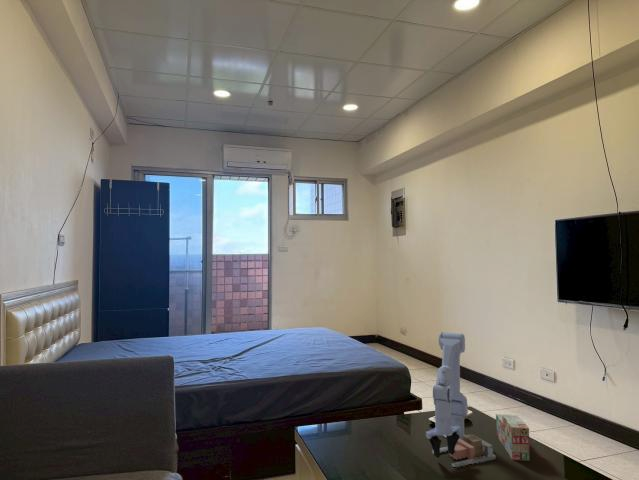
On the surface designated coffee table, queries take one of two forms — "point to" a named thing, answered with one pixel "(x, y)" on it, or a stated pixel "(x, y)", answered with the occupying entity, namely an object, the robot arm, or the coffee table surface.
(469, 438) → the block
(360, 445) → the coffee table surface
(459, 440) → the block
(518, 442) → the stack of blocks
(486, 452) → the pale grey flat frame
